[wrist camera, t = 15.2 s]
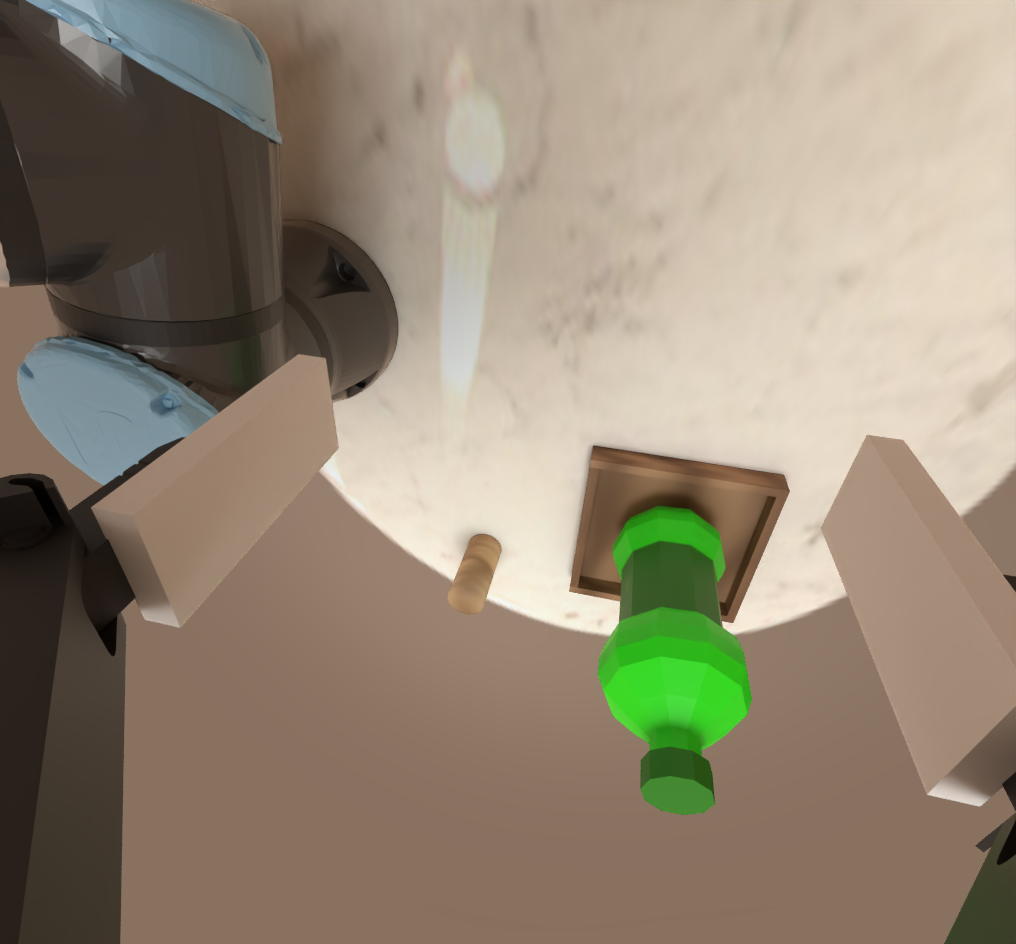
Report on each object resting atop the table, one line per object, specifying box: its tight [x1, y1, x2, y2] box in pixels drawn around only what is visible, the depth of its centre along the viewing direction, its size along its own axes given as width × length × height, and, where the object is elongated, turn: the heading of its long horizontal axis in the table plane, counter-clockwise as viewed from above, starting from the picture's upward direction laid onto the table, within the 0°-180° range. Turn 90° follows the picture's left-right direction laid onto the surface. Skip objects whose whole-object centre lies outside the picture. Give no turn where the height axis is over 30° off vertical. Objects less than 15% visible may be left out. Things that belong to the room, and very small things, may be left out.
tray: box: [569, 446, 790, 623], centre depth 53 cm, size 17×17×2 cm
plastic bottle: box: [598, 506, 752, 815], centre depth 43 cm, size 10×10×25 cm
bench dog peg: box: [448, 534, 501, 614], centre depth 57 cm, size 4×4×8 cm
